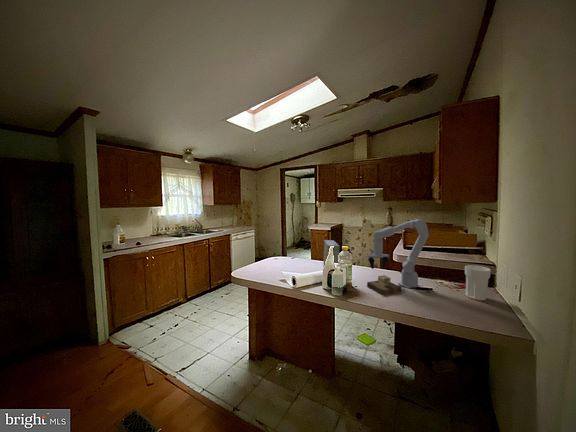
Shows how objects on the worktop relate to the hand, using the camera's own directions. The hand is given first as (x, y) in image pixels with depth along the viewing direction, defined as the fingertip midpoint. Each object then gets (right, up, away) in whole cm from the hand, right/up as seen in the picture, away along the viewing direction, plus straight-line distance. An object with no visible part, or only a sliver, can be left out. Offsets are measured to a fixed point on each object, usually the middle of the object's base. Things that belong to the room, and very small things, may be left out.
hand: (377, 268), depth 157 cm
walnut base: (-1, -10, -12) cm, 16 cm away
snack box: (-30, -9, +10) cm, 33 cm away
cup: (+46, -11, -25) cm, 54 cm away
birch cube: (-1, -8, -13) cm, 15 cm away
